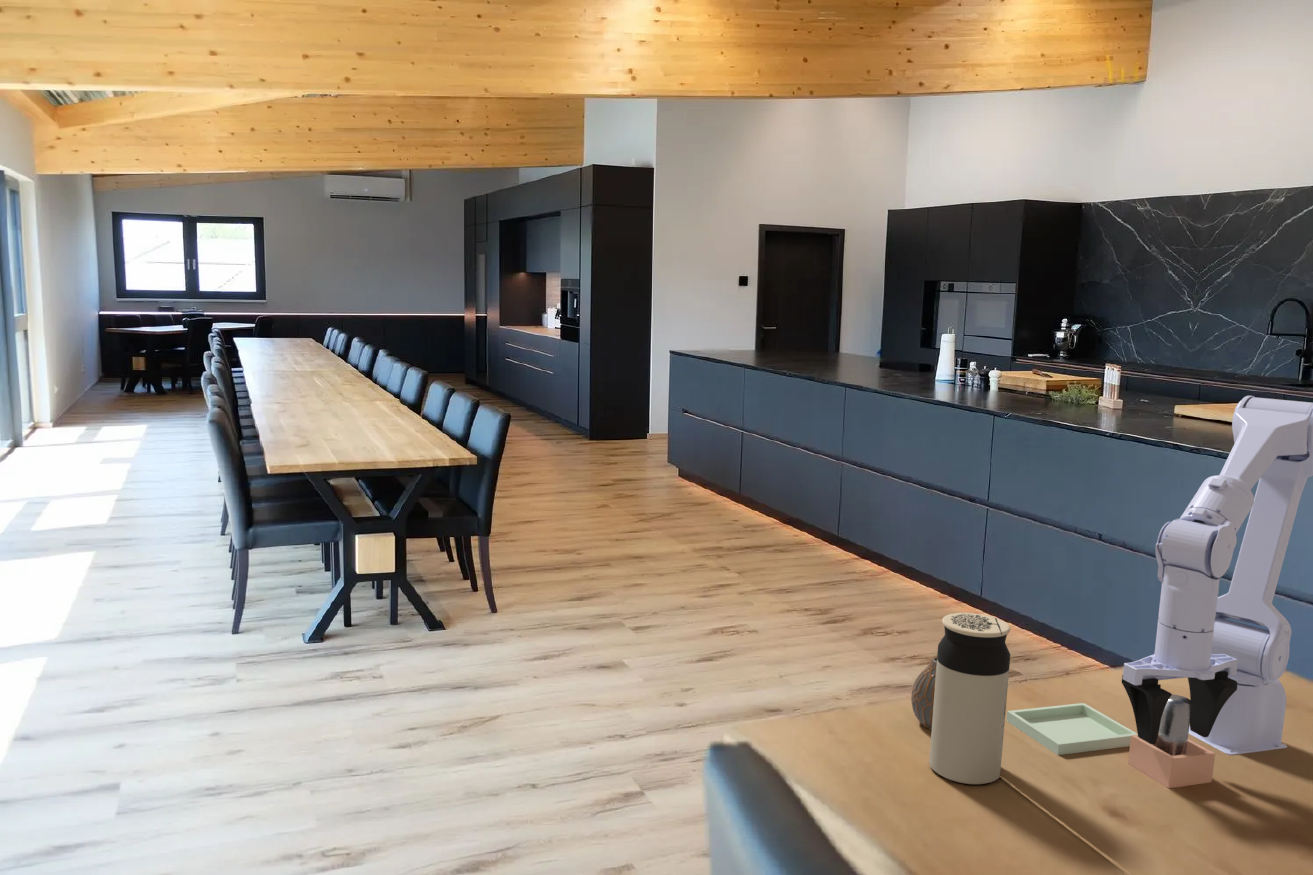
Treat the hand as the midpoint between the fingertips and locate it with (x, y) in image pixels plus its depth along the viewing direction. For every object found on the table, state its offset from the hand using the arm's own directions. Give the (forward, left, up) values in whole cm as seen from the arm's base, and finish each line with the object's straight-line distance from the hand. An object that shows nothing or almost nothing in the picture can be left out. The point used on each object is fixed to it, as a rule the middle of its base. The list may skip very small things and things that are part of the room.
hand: (1173, 736), depth 117 cm
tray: (+4, -12, -5) cm, 14 cm away
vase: (+19, -19, -5) cm, 27 cm away
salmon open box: (0, 0, -5) cm, 5 cm away
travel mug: (+23, -7, -5) cm, 25 cm away
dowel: (0, 0, -4) cm, 4 cm away
